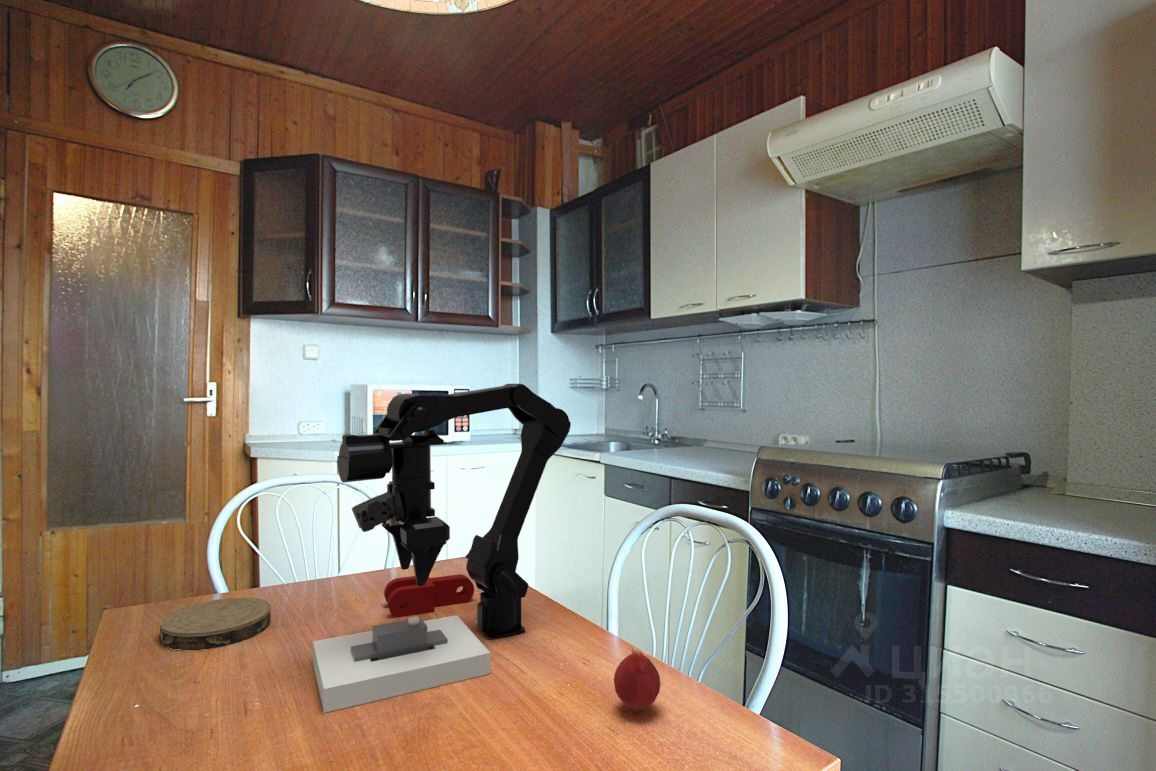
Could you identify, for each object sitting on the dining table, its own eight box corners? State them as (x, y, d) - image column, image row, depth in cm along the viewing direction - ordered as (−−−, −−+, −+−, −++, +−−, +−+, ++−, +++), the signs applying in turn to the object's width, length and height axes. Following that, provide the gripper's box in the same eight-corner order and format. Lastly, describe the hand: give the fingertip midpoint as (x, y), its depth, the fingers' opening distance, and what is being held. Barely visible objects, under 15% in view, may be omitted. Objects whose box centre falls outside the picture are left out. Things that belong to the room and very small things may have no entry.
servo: (354, 683, 83) (354, 634, 83) (350, 671, 87) (350, 624, 87) (447, 663, 89) (447, 617, 89) (440, 652, 93) (440, 608, 93)
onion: (663, 703, 78) (664, 642, 78) (654, 727, 73) (655, 661, 73) (620, 696, 80) (620, 635, 80) (608, 718, 75) (608, 654, 75)
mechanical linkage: (388, 620, 106) (388, 591, 106) (383, 606, 113) (384, 579, 113) (477, 606, 113) (477, 580, 113) (468, 594, 119) (468, 569, 119)
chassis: (456, 633, 100) (456, 615, 100) (490, 673, 86) (490, 652, 86) (312, 661, 90) (312, 641, 90) (323, 712, 76) (324, 689, 76)
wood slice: (260, 645, 96) (260, 626, 96) (143, 658, 91) (143, 638, 91) (278, 610, 111) (278, 593, 111) (179, 619, 106) (179, 602, 106)
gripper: (345, 472, 96) (346, 569, 96) (369, 490, 80) (370, 606, 80) (415, 466, 102) (416, 558, 102) (450, 482, 86) (451, 591, 86)
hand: (412, 577), depth 92 cm, fingers open, 9 cm apart
